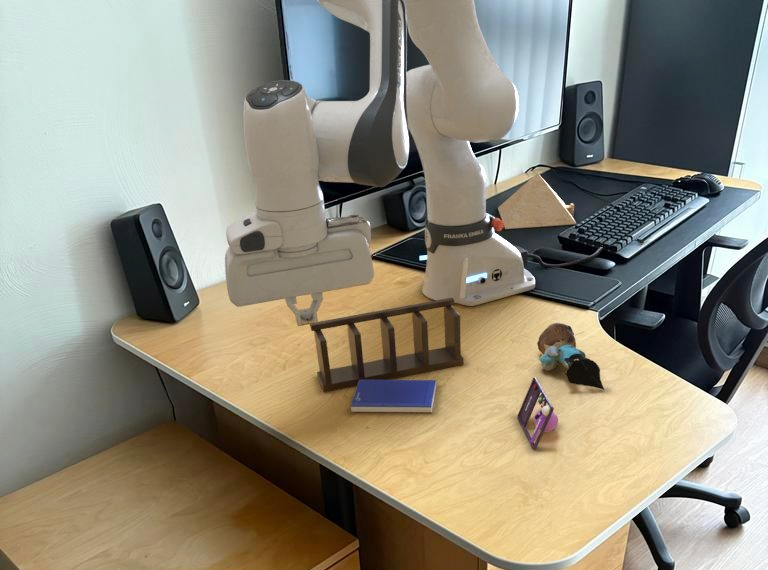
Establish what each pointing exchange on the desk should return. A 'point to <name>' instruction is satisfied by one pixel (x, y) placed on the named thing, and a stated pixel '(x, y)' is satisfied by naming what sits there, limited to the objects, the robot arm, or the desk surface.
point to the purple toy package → (543, 418)
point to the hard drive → (394, 396)
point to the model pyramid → (535, 207)
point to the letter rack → (390, 347)
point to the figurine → (567, 356)
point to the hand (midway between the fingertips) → (307, 323)
